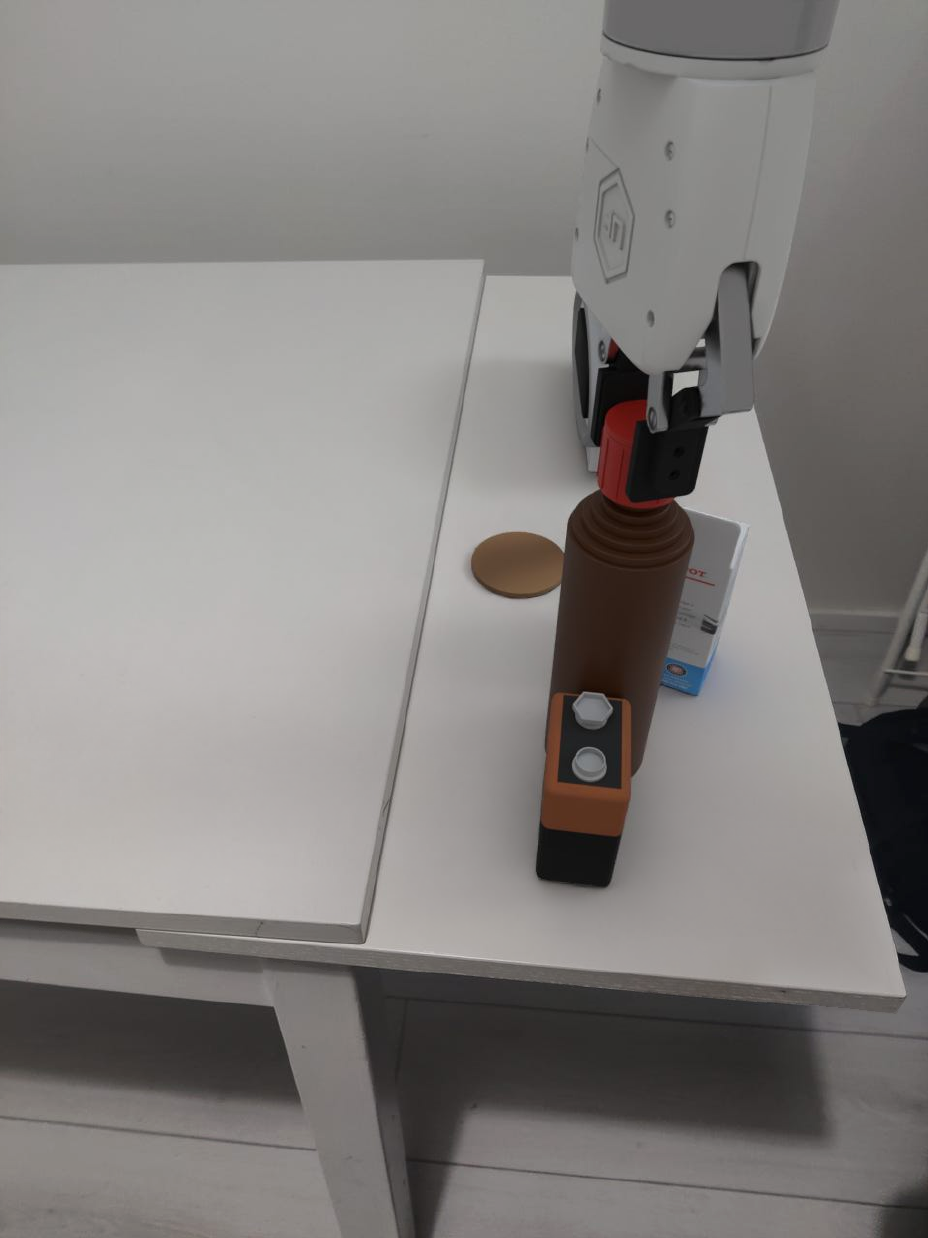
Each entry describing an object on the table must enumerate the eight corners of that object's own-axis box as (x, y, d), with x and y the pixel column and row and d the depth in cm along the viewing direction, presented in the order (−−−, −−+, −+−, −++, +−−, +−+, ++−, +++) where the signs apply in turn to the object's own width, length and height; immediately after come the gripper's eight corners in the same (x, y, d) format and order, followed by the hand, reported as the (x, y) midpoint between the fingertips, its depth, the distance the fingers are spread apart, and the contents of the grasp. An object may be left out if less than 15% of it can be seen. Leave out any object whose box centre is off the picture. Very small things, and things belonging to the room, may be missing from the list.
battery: (612, 792, 54) (634, 685, 47) (610, 892, 49) (634, 789, 42) (542, 784, 55) (553, 677, 48) (533, 882, 50) (544, 779, 43)
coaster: (586, 567, 70) (586, 562, 69) (519, 612, 66) (520, 607, 66) (517, 524, 74) (518, 519, 73) (451, 564, 70) (451, 559, 70)
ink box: (717, 651, 63) (766, 482, 53) (698, 698, 60) (746, 528, 50) (605, 614, 66) (631, 447, 56) (581, 658, 63) (604, 488, 52)
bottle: (663, 749, 57) (744, 436, 40) (599, 806, 54) (659, 493, 37) (588, 694, 60) (635, 385, 44) (523, 745, 57) (548, 433, 40)
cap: (688, 507, 41) (702, 443, 39) (604, 510, 41) (614, 446, 38) (668, 460, 44) (681, 397, 41) (590, 462, 44) (598, 400, 41)
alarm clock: (567, 364, 93) (578, 242, 85) (625, 365, 93) (642, 243, 84) (581, 492, 77) (596, 358, 68) (651, 494, 77) (675, 359, 68)
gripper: (536, -34, 34) (515, 389, 47) (726, 68, 22) (629, 595, 35) (714, -41, 35) (646, 373, 48) (981, 53, 24) (798, 567, 36)
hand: (640, 463), depth 41 cm, fingers closed on cap, 3 cm apart
